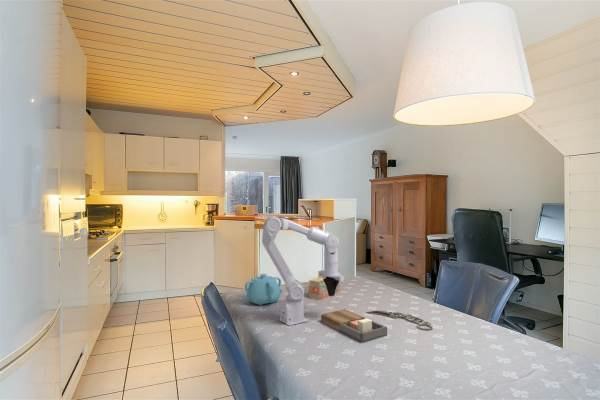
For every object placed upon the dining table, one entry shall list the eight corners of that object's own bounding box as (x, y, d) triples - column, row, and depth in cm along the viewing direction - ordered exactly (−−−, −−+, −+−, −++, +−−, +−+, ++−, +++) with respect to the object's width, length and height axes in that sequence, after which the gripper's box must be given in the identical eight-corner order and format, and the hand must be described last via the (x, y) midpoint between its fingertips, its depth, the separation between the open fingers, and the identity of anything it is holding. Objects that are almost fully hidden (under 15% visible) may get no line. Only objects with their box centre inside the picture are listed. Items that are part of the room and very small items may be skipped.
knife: (366, 311, 143) (380, 305, 149) (366, 314, 143) (380, 308, 149) (426, 330, 121) (440, 323, 127) (426, 335, 121) (440, 327, 127)
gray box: (361, 343, 112) (361, 334, 112) (340, 331, 123) (339, 323, 123) (387, 335, 118) (387, 327, 118) (364, 325, 129) (364, 317, 129)
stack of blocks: (319, 300, 163) (319, 275, 163) (308, 298, 167) (308, 274, 167) (339, 290, 181) (339, 268, 181) (329, 289, 184) (329, 267, 185)
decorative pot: (257, 296, 172) (256, 270, 172) (285, 298, 166) (284, 271, 166) (240, 305, 157) (240, 276, 157) (271, 308, 151) (270, 278, 151)
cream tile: (358, 332, 120) (362, 335, 117) (357, 320, 120) (362, 322, 117) (367, 330, 122) (372, 332, 120) (366, 318, 122) (371, 320, 120)
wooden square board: (339, 331, 123) (339, 323, 123) (321, 321, 133) (321, 314, 133) (364, 325, 129) (364, 317, 129) (344, 316, 139) (344, 309, 139)
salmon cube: (357, 332, 120) (357, 325, 120) (350, 328, 123) (349, 322, 123) (366, 330, 122) (366, 323, 122) (358, 326, 126) (358, 319, 126)
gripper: (349, 264, 133) (350, 298, 133) (328, 259, 146) (329, 290, 145) (335, 266, 129) (336, 301, 129) (315, 261, 142) (315, 292, 142)
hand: (331, 295), depth 137 cm, fingers closed
